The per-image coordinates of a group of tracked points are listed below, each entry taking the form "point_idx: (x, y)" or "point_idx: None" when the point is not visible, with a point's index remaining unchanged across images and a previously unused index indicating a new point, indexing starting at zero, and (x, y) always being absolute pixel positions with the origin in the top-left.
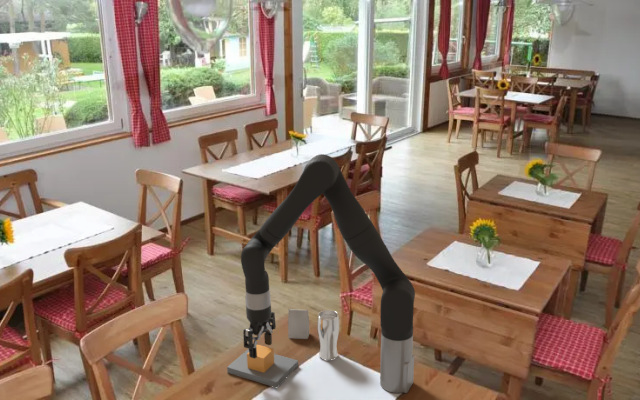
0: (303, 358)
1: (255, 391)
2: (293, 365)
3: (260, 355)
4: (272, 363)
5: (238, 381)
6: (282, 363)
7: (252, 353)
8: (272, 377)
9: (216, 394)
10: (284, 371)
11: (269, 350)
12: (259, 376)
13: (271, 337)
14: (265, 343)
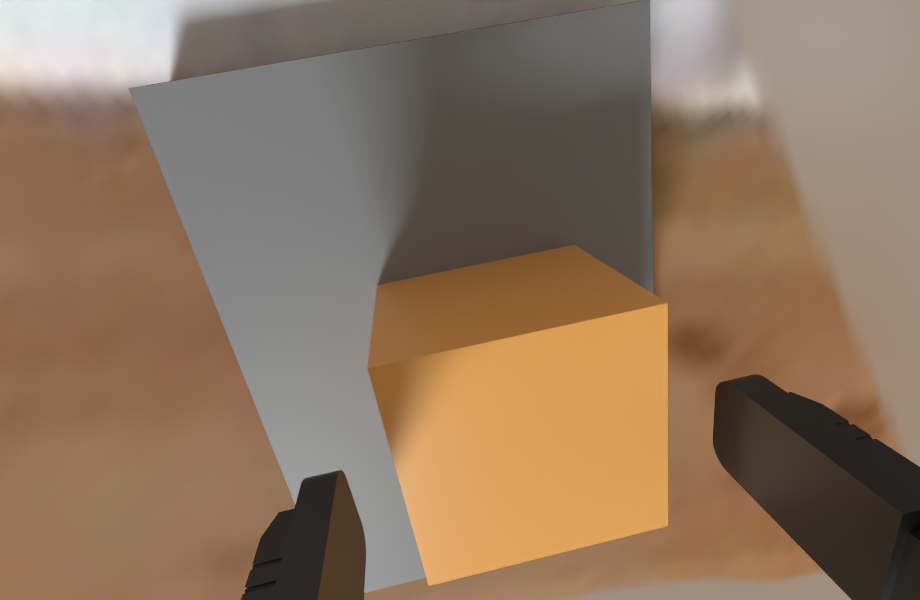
0: (8, 149)
1: (738, 158)
2: (253, 69)
3: (625, 385)
4: (413, 282)
5: (682, 359)
6: (323, 207)
7: (867, 446)
8: (598, 109)
9: (864, 359)
10: (429, 72)
11: (445, 384)
12: (645, 235)
13: (275, 586)
14: (364, 539)
